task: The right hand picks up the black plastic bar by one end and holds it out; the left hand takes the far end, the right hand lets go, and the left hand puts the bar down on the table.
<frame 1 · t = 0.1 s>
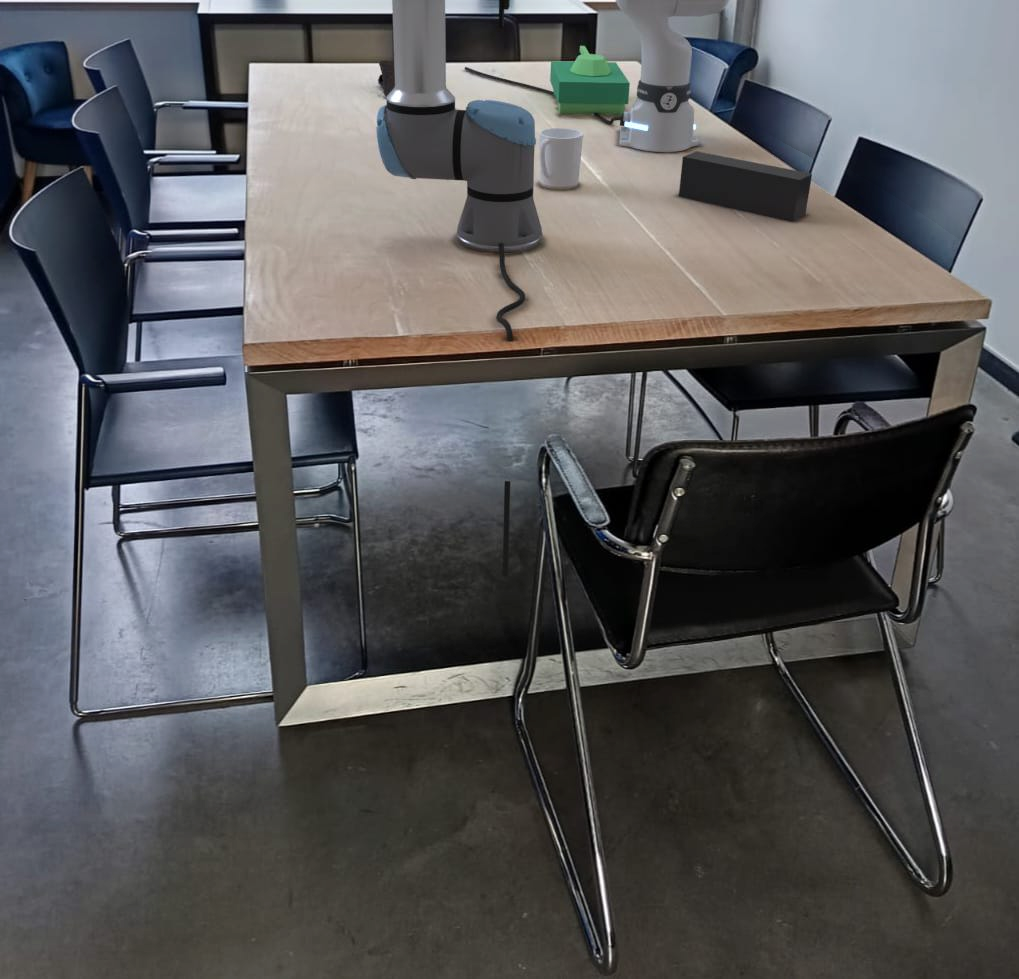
left hand: (468, 25, 224), 28 cm above the table, tool pointing down, fingers open, 13 cm apart
mug: (555, 185, 226), on the table
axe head: (403, 91, 300), on the table
toy tank: (585, 102, 293), on the table
bar: (740, 205, 217), on the table
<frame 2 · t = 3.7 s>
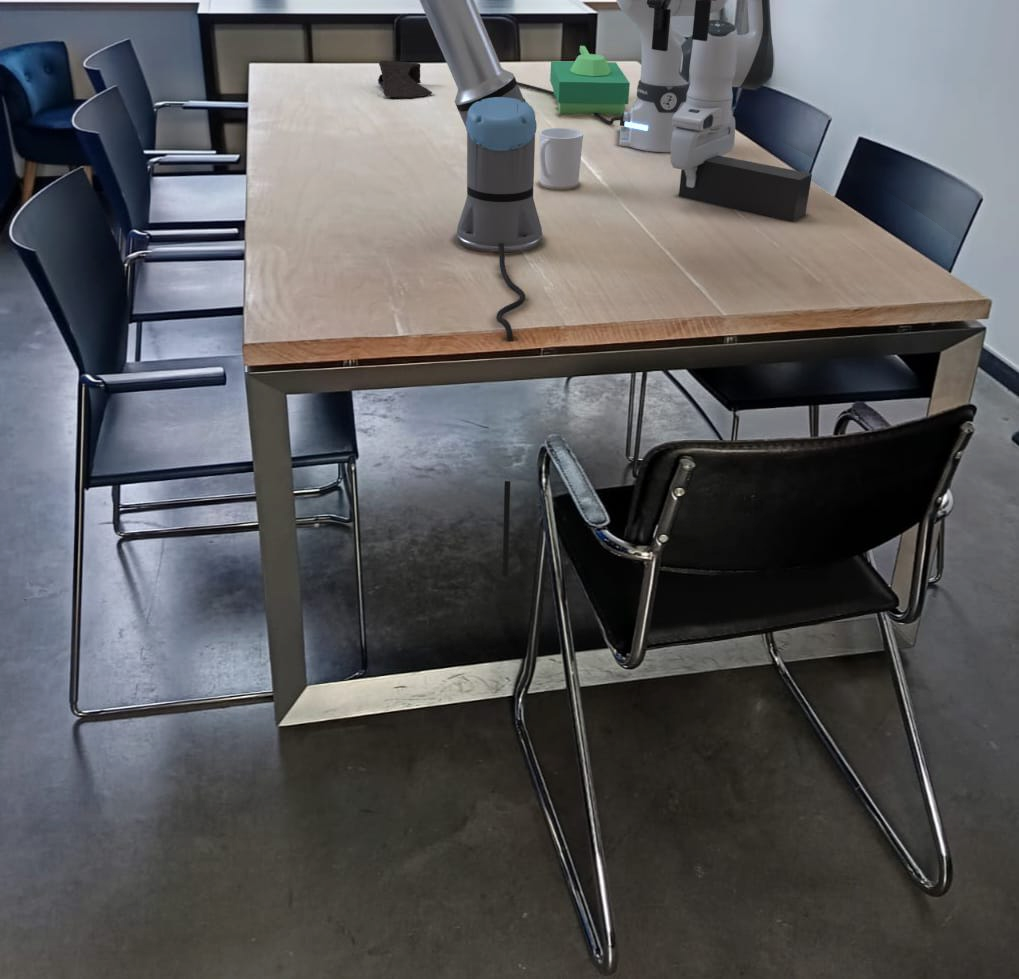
left hand: (680, 45, 191), 31 cm above the table, tool pointing down, fingers open, 13 cm apart
right hand: (700, 182, 220), 3 cm above the table, tool pointing down, fingers closed on bar, 5 cm apart
bar: (740, 205, 217), on the table, touching right hand
everything else where it was.
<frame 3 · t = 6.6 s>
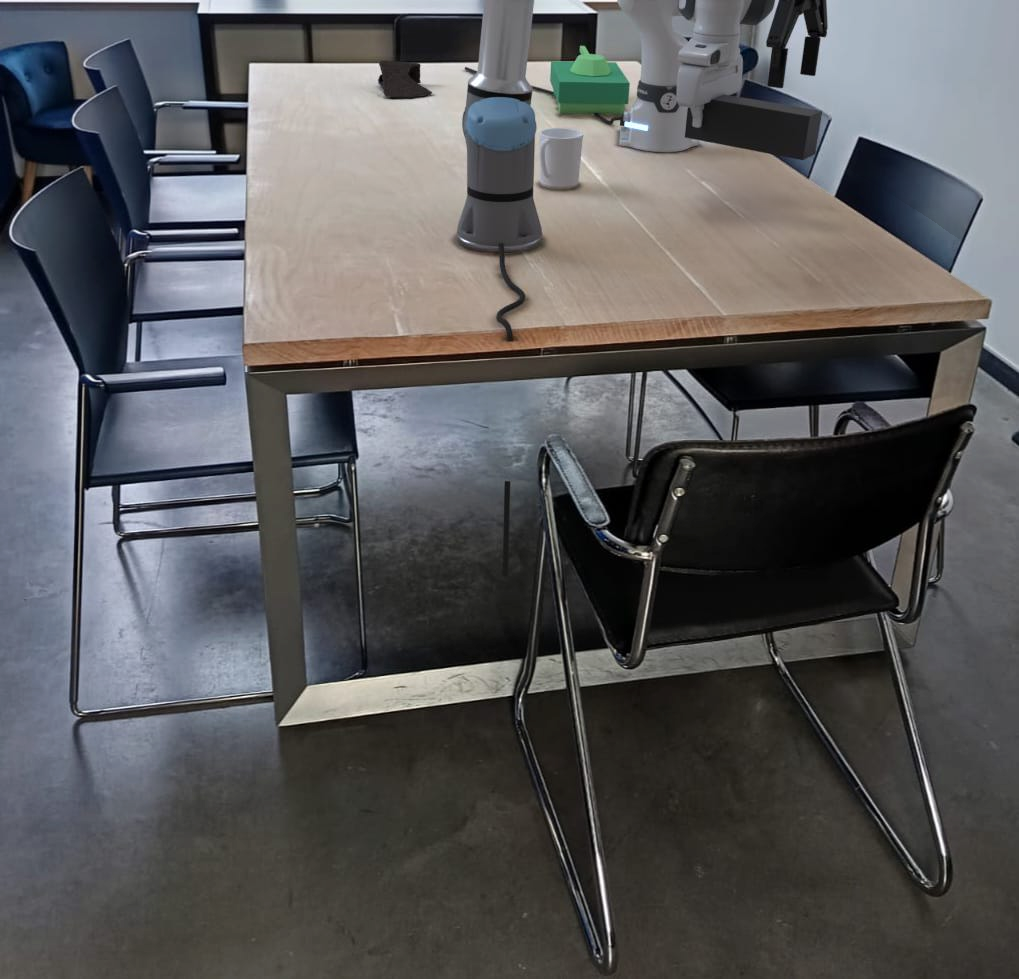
left hand: (791, 81, 198), 25 cm above the table, tool pointing down, fingers open, 13 cm apart
right hand: (706, 123, 214), 14 cm above the table, tool pointing down, fingers closed on bar, 5 cm apart
bar: (748, 145, 211), point 12 cm above the table, touching right hand
everything else where it was.
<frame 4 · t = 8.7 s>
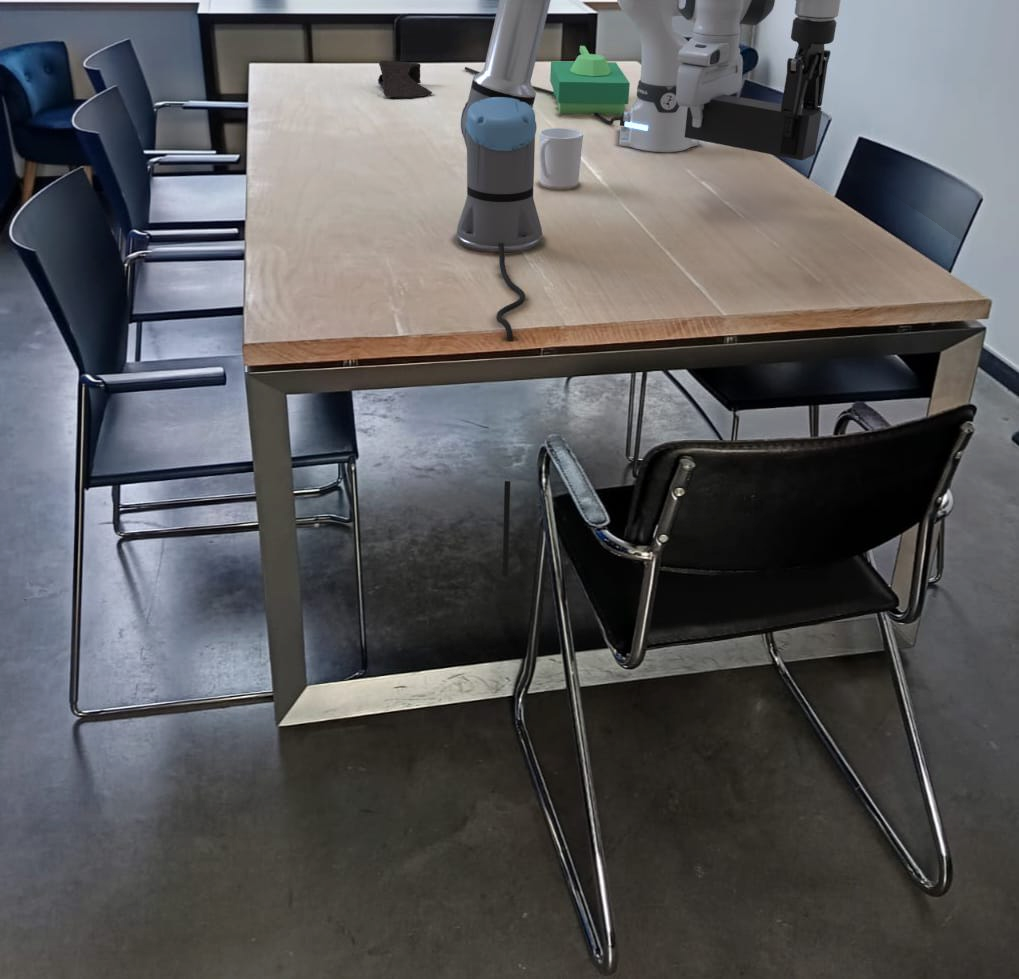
left hand: (794, 150, 206), 12 cm above the table, tool pointing down, fingers closed on bar, 6 cm apart
right hand: (706, 123, 214), 14 cm above the table, tool pointing down, fingers closed on bar, 5 cm apart
bar: (748, 145, 211), point 12 cm above the table, touching left hand, right hand
everything else where it was.
when the right hand's fingers open (14 cm above the table, at t = 9.8 s): bar moves 1 cm, held by the left hand.
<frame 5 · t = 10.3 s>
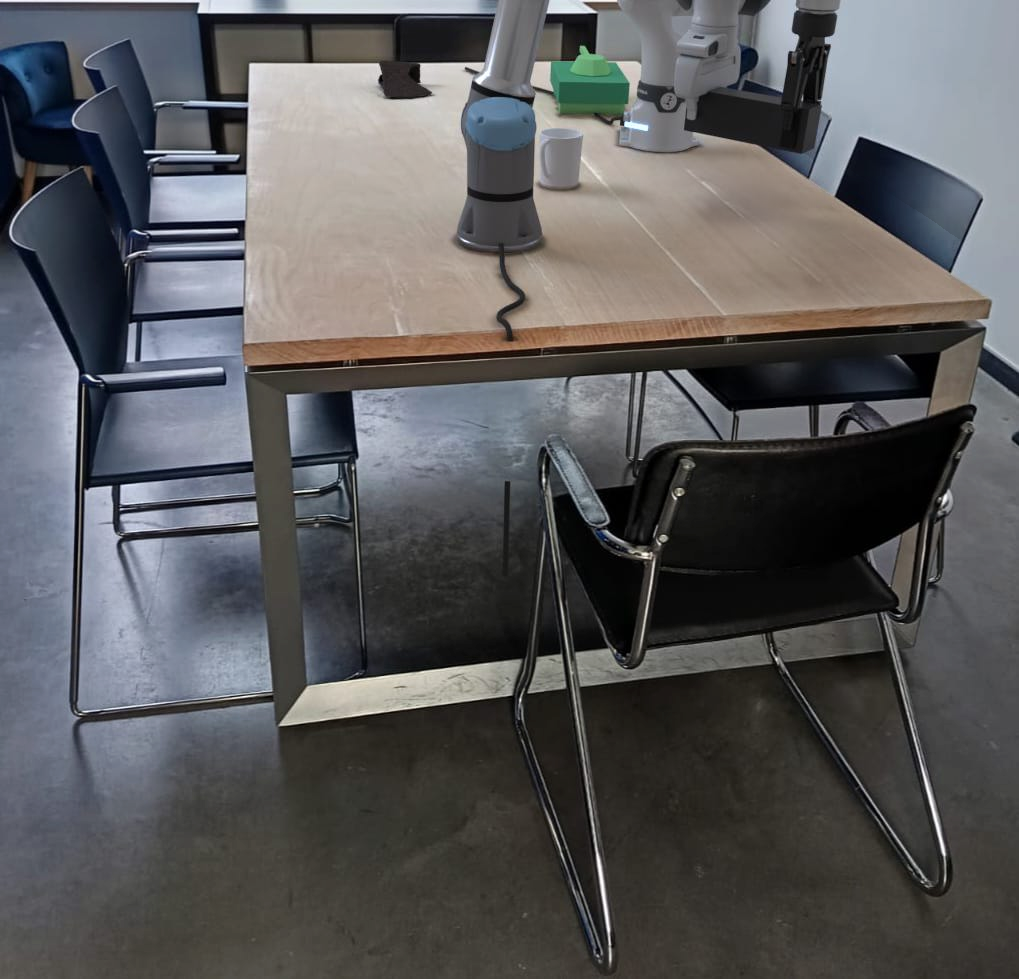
left hand: (794, 143, 205), 14 cm above the table, tool pointing down, fingers closed on bar, 6 cm apart
right hand: (704, 114, 214), 16 cm above the table, tool pointing down, fingers open, 8 cm apart
bar: (747, 139, 210), point 13 cm above the table, touching left hand
everything else where it was.
when the left hand's fingers open (2 cm above the table, at t = 14.8 s): bar drops 1 cm, on the table.
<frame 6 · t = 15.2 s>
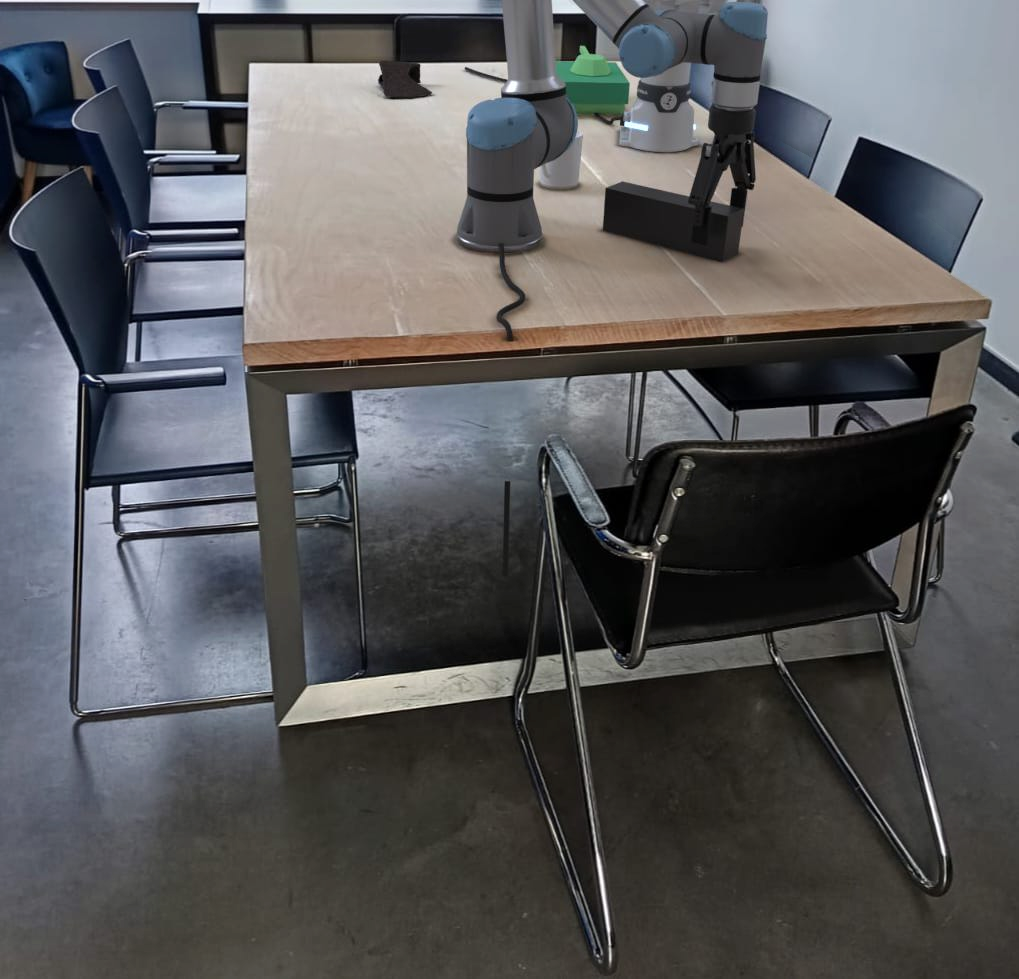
left hand: (717, 234, 191), 3 cm above the table, tool pointing down, fingers open, 12 cm apart
right hand: (688, 27, 208), 31 cm above the table, tool pointing down, fingers open, 8 cm apart
bar: (668, 241, 197), on the table
everything else where it was.
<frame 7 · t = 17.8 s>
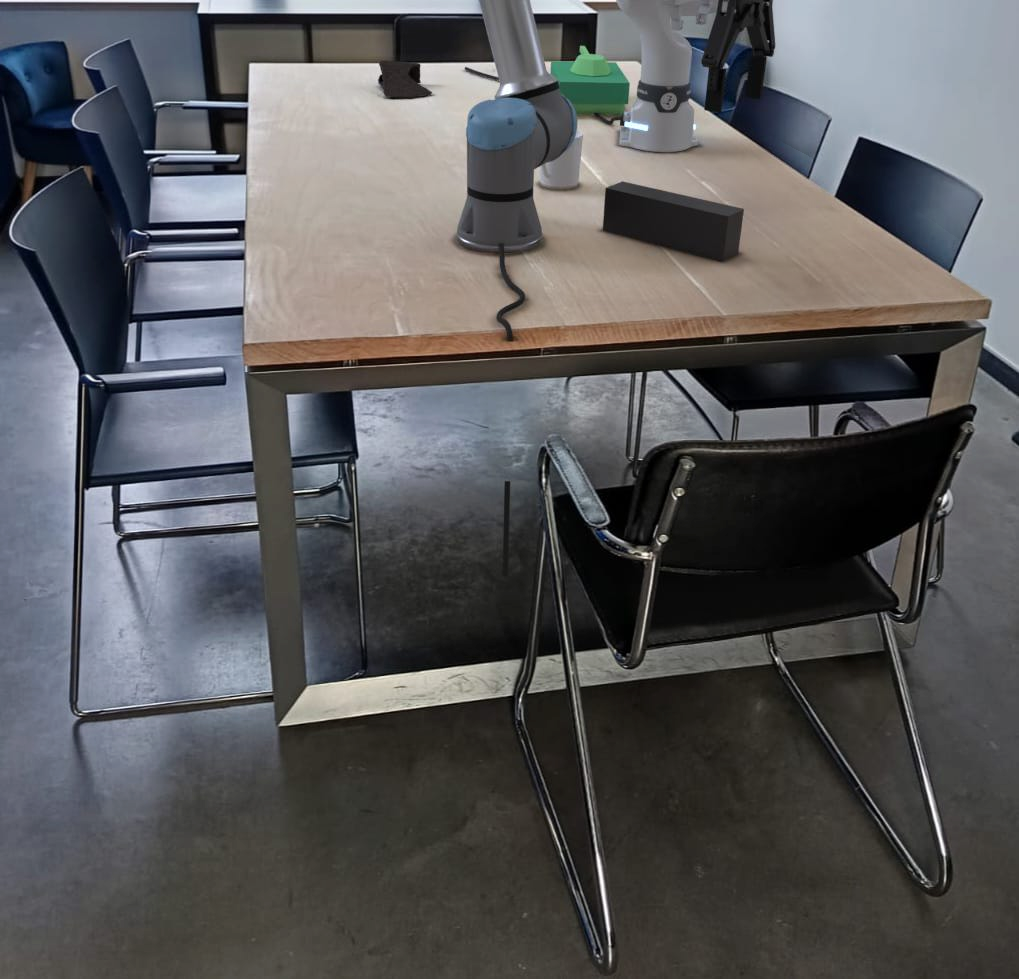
left hand: (733, 104, 179), 25 cm above the table, tool pointing down, fingers open, 13 cm apart
right hand: (688, 27, 208), 31 cm above the table, tool pointing down, fingers open, 8 cm apart
nothing on the table moved.
at the end: bar inside the target area (9.5 cm from its centre), on the table; the left hand is holding nothing; the right hand is holding nothing; bar at rest at the end (0.0 cm/s) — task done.
